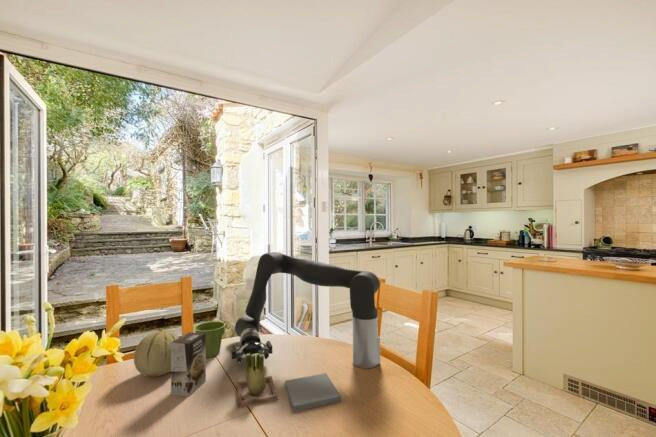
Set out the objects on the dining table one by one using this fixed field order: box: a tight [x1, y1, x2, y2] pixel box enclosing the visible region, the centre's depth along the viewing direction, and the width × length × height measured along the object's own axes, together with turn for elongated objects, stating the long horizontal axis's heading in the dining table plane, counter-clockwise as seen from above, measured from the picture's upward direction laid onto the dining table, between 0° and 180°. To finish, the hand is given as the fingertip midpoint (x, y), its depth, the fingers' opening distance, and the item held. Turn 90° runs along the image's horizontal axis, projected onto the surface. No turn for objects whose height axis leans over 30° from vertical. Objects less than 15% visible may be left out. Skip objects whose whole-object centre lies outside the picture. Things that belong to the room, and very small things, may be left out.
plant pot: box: [193, 320, 226, 358], centre depth 120 cm, size 12×12×11 cm
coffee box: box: [170, 332, 207, 397], centre depth 95 cm, size 9×6×16 cm
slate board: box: [284, 372, 342, 412], centre depth 92 cm, size 14×14×2 cm
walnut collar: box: [236, 375, 278, 408], centre depth 92 cm, size 11×12×1 cm
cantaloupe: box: [133, 328, 180, 378], centre depth 104 cm, size 15×15×15 cm
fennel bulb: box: [245, 353, 267, 397], centre depth 92 cm, size 6×5×12 cm
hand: (253, 358), depth 102 cm, fingers open, 8 cm apart
